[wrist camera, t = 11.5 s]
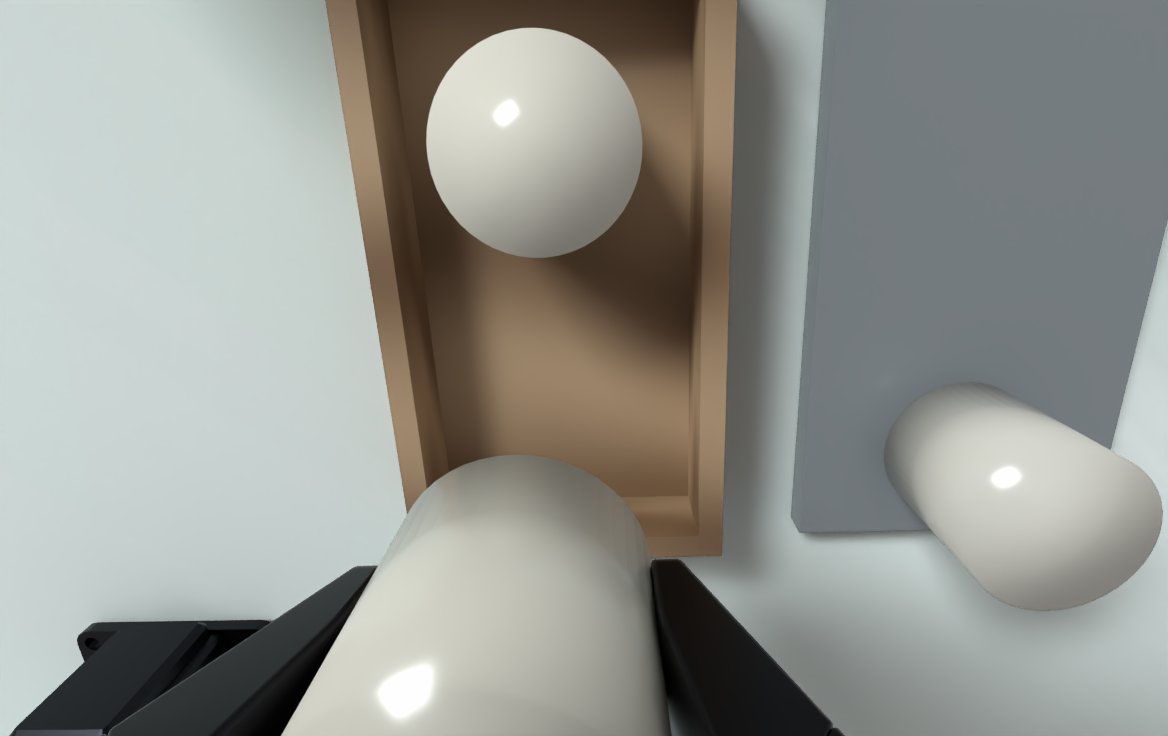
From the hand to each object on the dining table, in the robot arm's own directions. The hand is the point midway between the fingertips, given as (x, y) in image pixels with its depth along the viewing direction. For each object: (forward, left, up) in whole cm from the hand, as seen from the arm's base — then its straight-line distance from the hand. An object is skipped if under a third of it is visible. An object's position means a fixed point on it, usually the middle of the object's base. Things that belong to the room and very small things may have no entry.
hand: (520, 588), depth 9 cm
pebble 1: (+6, 0, -8) cm, 10 cm away
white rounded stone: (-2, -11, -8) cm, 13 cm away
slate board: (+3, -11, -9) cm, 14 cm away
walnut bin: (+3, 0, -9) cm, 9 cm away
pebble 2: (0, 0, 0) cm, 0 cm away
